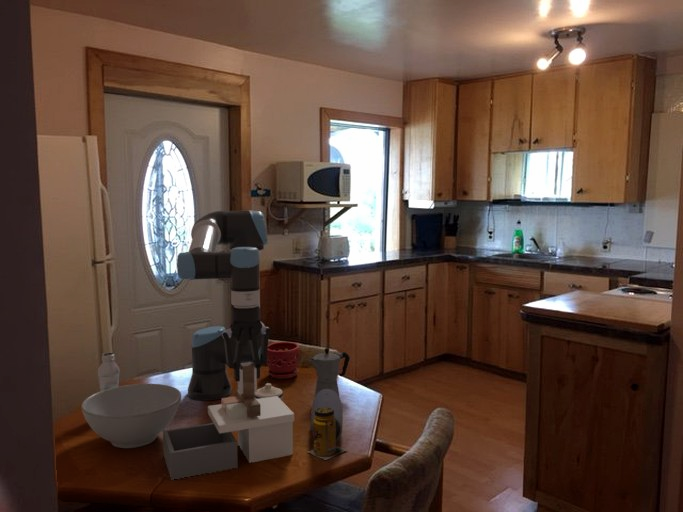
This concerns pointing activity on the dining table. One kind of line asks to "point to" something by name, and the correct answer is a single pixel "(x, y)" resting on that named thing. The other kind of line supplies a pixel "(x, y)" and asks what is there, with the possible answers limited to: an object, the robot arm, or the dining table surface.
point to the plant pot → (283, 359)
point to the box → (198, 450)
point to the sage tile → (236, 411)
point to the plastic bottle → (108, 372)
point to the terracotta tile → (229, 401)
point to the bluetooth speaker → (331, 401)
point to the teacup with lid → (268, 392)
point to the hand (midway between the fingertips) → (247, 391)
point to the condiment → (325, 434)
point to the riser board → (260, 429)
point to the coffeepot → (328, 369)
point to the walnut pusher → (249, 391)
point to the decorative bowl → (131, 413)
